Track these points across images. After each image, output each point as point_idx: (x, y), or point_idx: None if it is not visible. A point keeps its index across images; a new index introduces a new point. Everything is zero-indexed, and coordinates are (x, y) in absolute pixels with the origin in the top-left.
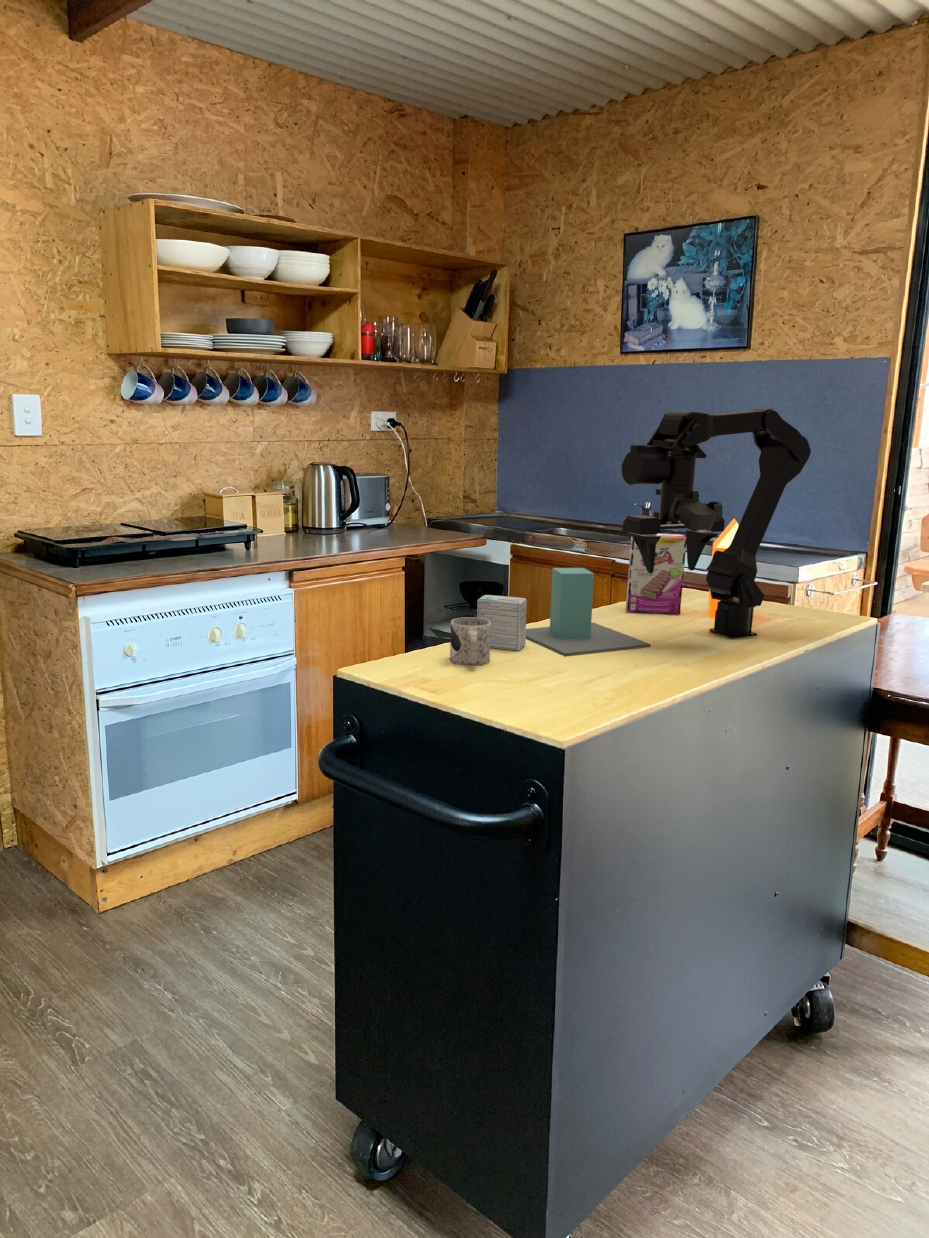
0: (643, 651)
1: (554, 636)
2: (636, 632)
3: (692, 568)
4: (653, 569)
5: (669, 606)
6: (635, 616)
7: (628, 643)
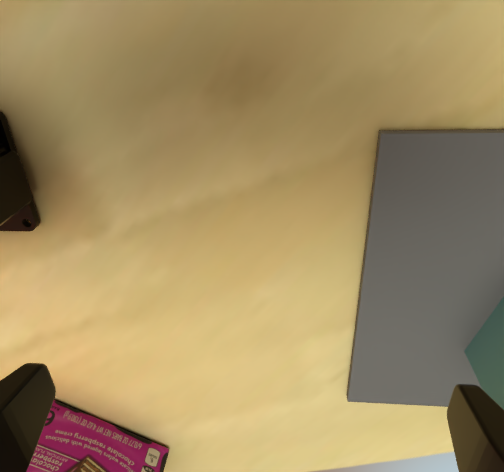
0: (462, 77)
1: None
2: (282, 299)
3: (35, 373)
4: (474, 405)
5: (57, 423)
6: (169, 418)
7: (456, 169)
